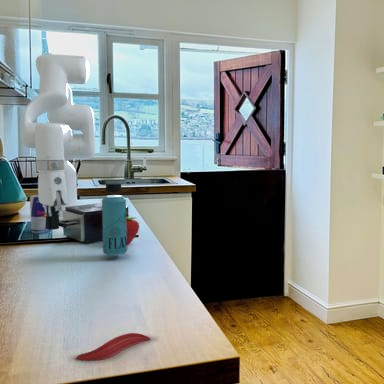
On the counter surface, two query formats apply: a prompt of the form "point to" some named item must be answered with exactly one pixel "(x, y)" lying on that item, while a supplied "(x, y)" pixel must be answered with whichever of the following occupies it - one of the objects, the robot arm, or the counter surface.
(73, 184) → the robot arm
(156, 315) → the counter surface
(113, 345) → the cayenne pepper
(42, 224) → the energy drink
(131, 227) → the strawberry
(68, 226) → the drawer
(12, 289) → the counter surface
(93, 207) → the cabinet
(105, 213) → the beverage bottle
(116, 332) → the counter surface
